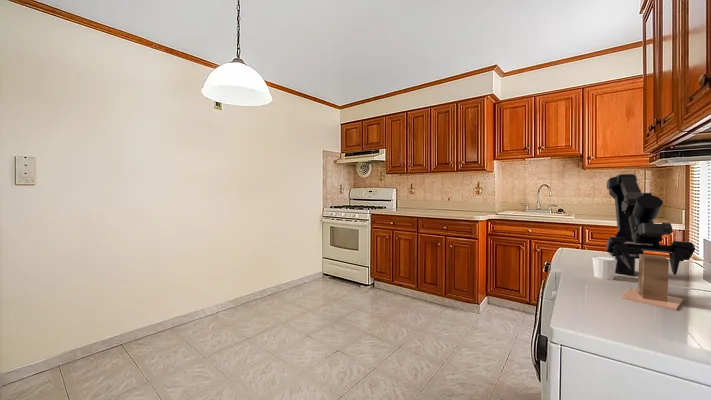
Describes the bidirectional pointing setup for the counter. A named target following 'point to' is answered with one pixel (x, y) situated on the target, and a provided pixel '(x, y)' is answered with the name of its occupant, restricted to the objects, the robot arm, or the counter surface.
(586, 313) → the counter surface
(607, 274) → the white cup
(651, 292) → the walnut block
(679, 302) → the terracotta tile
